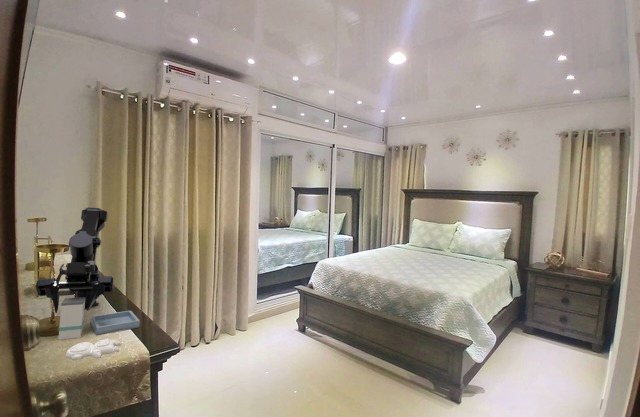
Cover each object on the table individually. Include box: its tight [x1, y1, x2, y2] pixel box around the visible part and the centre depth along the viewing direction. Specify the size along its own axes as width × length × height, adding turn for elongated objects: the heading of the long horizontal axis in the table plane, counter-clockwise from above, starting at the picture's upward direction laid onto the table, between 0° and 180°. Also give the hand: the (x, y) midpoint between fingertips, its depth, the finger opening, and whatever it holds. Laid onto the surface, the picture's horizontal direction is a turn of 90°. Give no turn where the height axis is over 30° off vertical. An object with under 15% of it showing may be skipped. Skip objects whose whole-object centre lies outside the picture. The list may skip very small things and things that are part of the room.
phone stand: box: [55, 263, 75, 297], centre depth 129 cm, size 9×6×12 cm, turn 125°
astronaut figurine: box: [65, 337, 122, 361], centre depth 85 cm, size 9×12×3 cm
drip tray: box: [89, 310, 141, 336], centre depth 102 cm, size 12×12×2 cm
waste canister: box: [58, 297, 86, 341], centre depth 93 cm, size 5×5×10 cm
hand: (72, 311), depth 92 cm, fingers open, 7 cm apart
